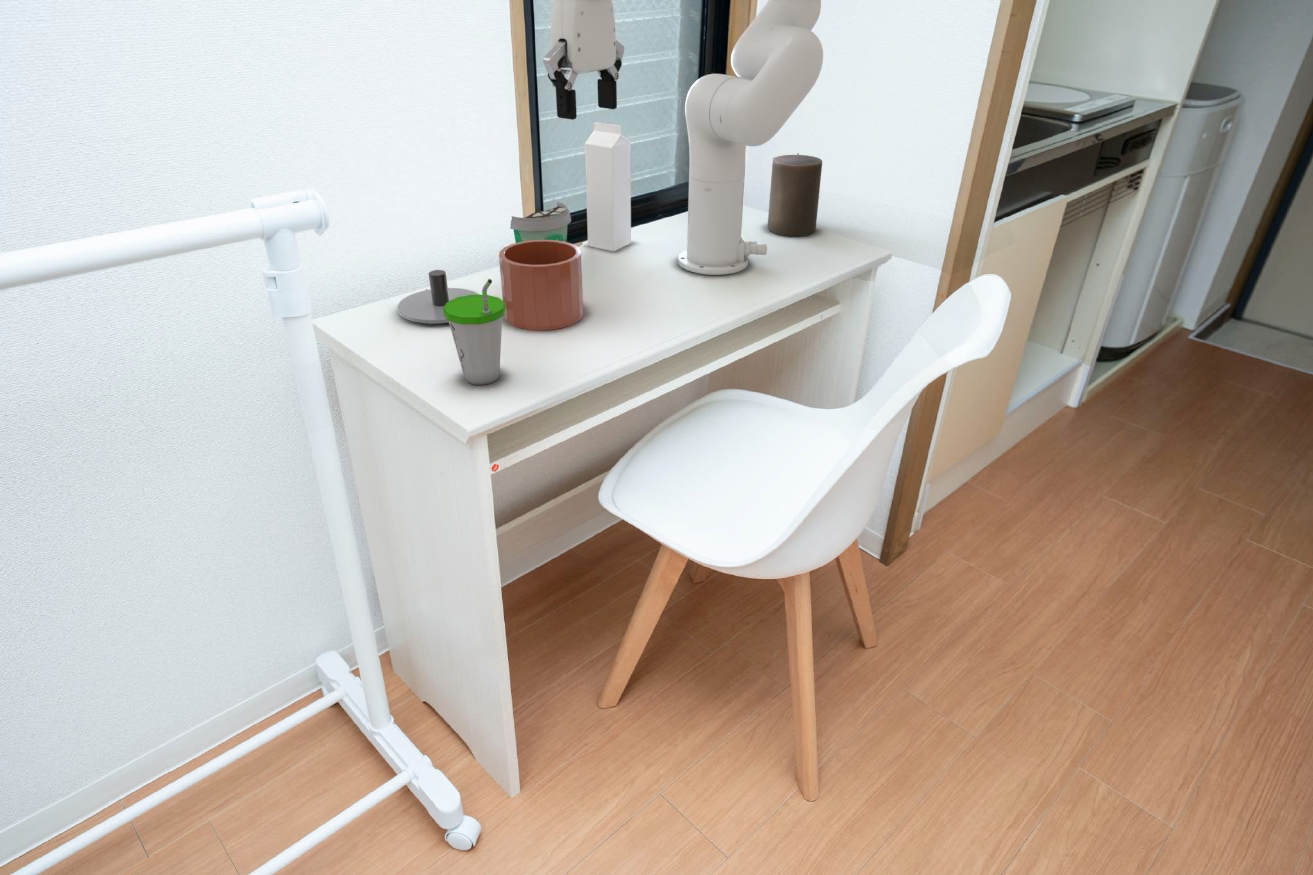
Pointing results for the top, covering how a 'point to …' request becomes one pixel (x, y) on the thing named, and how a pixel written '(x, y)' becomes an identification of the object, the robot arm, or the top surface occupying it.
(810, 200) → the pillar candle
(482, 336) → the cup
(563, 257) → the canister
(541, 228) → the food container
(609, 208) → the milk
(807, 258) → the top surface
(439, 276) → the lid
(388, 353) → the top surface
